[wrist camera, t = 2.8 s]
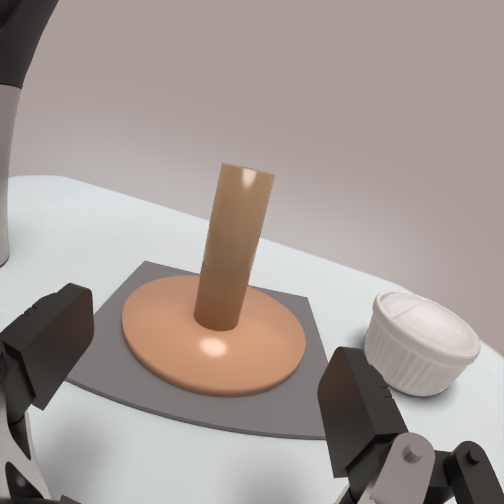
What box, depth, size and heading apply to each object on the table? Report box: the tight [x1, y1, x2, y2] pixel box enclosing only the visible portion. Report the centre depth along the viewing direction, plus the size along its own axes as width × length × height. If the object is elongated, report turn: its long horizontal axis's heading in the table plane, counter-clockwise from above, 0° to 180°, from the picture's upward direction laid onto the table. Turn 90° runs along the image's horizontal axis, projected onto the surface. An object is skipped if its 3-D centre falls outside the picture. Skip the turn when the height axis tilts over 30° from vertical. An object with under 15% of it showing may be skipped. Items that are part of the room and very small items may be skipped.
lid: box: [122, 163, 306, 397], centre depth 19 cm, size 14×14×12 cm
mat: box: [65, 261, 328, 440], centre depth 21 cm, size 18×18×1 cm
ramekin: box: [364, 291, 481, 397], centre depth 21 cm, size 11×11×5 cm
